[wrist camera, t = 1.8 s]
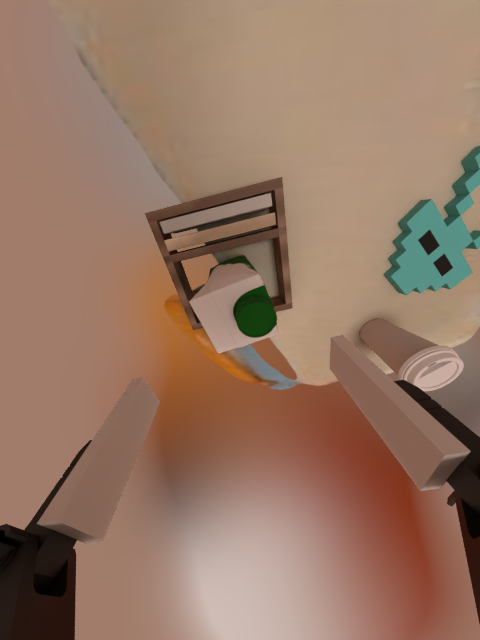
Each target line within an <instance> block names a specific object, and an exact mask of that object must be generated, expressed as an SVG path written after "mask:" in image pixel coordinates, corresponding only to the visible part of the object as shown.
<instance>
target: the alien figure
mask: <svg viewBox="0 0 480 640" xmlns="http://www.w3.org/2000/svg"><path fill="white" fill-rule="evenodd" d="M461 163H462V165H463V167H464V170H465V172H466V173H465V174H464V175H463V176H462V177H461V178H460V179H459V180H458V181H456V182H455V183H454V184H453V185H452V187H453V189H454V191H455V193H456V195H457V196H456V197H455V198H454V199H453V200H451V201H450V202H449V203H448V204H447V205H446V206H445V207H444V208H445V210H446V212H447V214H448V217H447V218H446V219H445V220H443V218H442V216H441V215H440V213H439V211H438V209H437V207H436V206H435V204H434V202H433V200H432V199H428V200H421V201H420V202H419V203H418V204H417V205H416V206H415V207H414V208H413V209H412V210H411V211H410V212H409V213H408V214H407V215H406V216H405V217H404V218H403V219H402V220H401V221H400V222H399V223H398V225H399V226H400V228H401V229H402V231H403V232H402V233H401V234H400V235H399V236H398V237H397V238H396V239H395V240H394V241H393V243H394V245H395V246H396V247H397V249H398V250H397V251H396V252H395V253H394V254H393V255H391V256H390V257H389V258H388V260H389V261H390V262H391V263H392V265H393V266H392V267H391V268H390V269H389V270H388V271H387V272H386V273H385V274H384V275H385V277H386V278H387V279H388V280H389V281H390V283H391V284H392V285H393V286H394V287H395V288H396V290H397V291H398V292H399V293H402V294H404V295H407V294H408V293H410V292H411V291H412V290H413V291H416V292H419V293H422V292H423V291H424V290H426V289H430V290H433V291H437V290H438V289H439V288H440V287H444V288H447V289H451V288H453V287H454V286H455V285H457V284H458V283H459V282H461V281H462V280H463V279H465V278H466V277H467V276H469V275H470V274H471V273H473V272H472V270H471V268H470V267H469V265H468V263H467V261H466V259H465V258H464V256H463V254H462V252H461V251H462V250H463V249H464V248H471V249H478V248H479V247H480V231H473V232H472V233H471V234H470V233H469V232H468V230H467V228H466V226H465V224H464V222H463V220H462V218H461V216H460V215H461V214H463V213H464V212H465V211H466V210H467V209H468V208H470V207H471V206H472V205H473V204H474V202H473V200H472V198H471V196H470V193H471V192H472V191H473V190H474V189H475V188H476V187H477V186H478V185H480V146H478V147H476V148H474V149H473V150H472V151H471V152H470V153H469V154H468V155H467V156H466V157H465V158H464V159H463V160H462V161H461Z"/></svg>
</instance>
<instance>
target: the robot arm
mask: <svg viewBox="0 0 480 640" xmlns="http://www.w3.org/2000/svg"><path fill="white" fill-rule="evenodd" d="M330 369H331V371H332V372H333V373H334V375H335V376H336V377H337V379H338V380H339V381H340V383H341V384H342V385H343V387H344V388H345V390H346V391H347V392H348V393H349V395H350V396H351V398H352V399H353V400H354V402H355V403H356V404H357V406H358V407H359V408H360V410H361V411H362V412H363V414H364V415H365V417H366V418H367V419H368V421H369V422H370V423H371V425H372V426H373V427H374V429H375V430H376V431H377V433H378V434H379V435H380V437H381V438H382V440H383V441H384V442H385V444H386V445H387V446H388V448H389V449H390V450H391V452H392V453H393V454H394V456H395V457H396V459H397V460H398V461H399V463H400V464H401V465H402V467H403V468H404V469H405V471H406V472H407V473H408V475H409V476H410V477H411V479H412V480H413V481H414V483H415V484H416V486H417V487H418V488H419V490H420V491H424V490H430V489H436V488H441V487H442V486H443V485H444V484H445V482H446V481H447V482H448V483H449V484H450V485H451V486H452V488H453V489H454V492H453V493H452V494H451V495H450V496H449V497H448V501H447V504H448V505H450V506H453V505H454V504H455V503H456V506H457V511H458V517H459V522H460V527H461V532H462V537H463V542H464V547H465V552H466V557H467V562H468V567H469V572H470V577H471V582H472V587H473V593H474V598H475V603H476V608H477V613H478V618H479V623H480V437H479V436H477V435H476V434H475V433H474V432H472V431H471V430H470V429H469V428H467V427H466V426H465V425H464V424H463V423H461V422H460V421H459V420H458V419H457V418H455V417H454V416H453V415H451V414H450V413H449V412H448V411H446V410H445V409H444V408H442V407H441V405H439V404H438V403H437V402H436V401H434V400H432V399H431V397H430V396H428V395H427V394H426V393H424V392H423V391H422V390H421V389H420V388H419V387H417V386H415V385H413V384H411V383H409V382H407V381H405V380H399V381H393V380H391V379H390V378H389V377H388V376H387V375H386V374H385V373H384V372H383V371H382V370H380V369H379V368H378V367H377V366H376V365H375V364H374V363H373V362H372V361H371V360H369V359H368V358H367V357H366V356H365V355H364V354H363V353H362V352H361V351H359V350H358V349H357V348H356V347H355V346H354V345H353V344H352V343H351V342H350V341H348V340H347V339H346V338H345V337H344V336H343V335H341V336H336V337H332V338H331V348H330ZM159 404H160V402H159V400H158V398H157V397H156V395H155V394H154V393H153V391H152V390H151V388H150V387H149V385H148V384H147V382H146V381H145V379H144V378H143V377H141V378H136V379H133V380H132V381H131V383H130V384H129V386H128V387H127V389H126V390H125V392H124V393H123V395H122V396H121V398H120V399H119V401H118V402H117V404H116V405H115V407H114V408H113V410H112V411H111V413H110V414H109V416H108V417H107V419H106V420H105V422H104V423H103V425H102V426H101V428H100V429H99V431H98V433H97V434H96V435H95V437H94V438H93V440H90V441H89V442H88V443H87V444H86V445H85V446H84V447H83V448H82V449H81V450H80V451H79V453H78V454H77V455H76V457H75V458H74V460H73V461H72V463H71V464H70V467H68V469H67V470H66V471H65V473H64V474H63V477H62V478H61V479H60V480H59V482H58V483H57V484H56V486H55V487H54V489H53V490H52V492H51V493H50V495H49V496H48V497H47V499H46V500H45V502H44V503H43V504H42V506H41V507H40V509H39V510H38V512H37V513H36V515H35V516H34V518H33V519H32V521H31V522H30V523H29V525H28V526H27V527H26V528H25V530H22V529H19V528H16V527H13V526H10V525H8V524H5V525H2V526H0V640H74V639H75V638H74V637H75V585H76V552H75V549H73V547H74V545H75V543H76V541H77V540H79V541H81V542H83V543H93V542H99V541H103V539H104V537H105V534H106V532H107V529H108V527H109V525H110V522H111V520H112V517H113V515H114V512H115V510H116V508H117V505H118V503H119V500H120V498H121V496H122V493H123V491H124V488H125V486H126V483H127V481H128V479H129V476H130V474H131V471H132V469H133V467H134V464H135V462H136V459H137V457H138V454H139V452H140V450H141V447H142V445H143V442H144V440H145V438H146V435H147V433H148V430H149V428H150V425H151V423H152V421H153V418H154V416H155V413H156V411H157V409H158V406H159Z"/></svg>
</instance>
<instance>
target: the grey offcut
mask: <svg viewBox="0 0 480 640" xmlns="http://www.w3.org/2000/svg"><path fill="white" fill-rule="evenodd" d="M271 206H272V198H271V193H269V194H265V195H261V196H257V197H253V198H249V199H246V200H242V201H238V202H234V203H230V204H226V205H223V206H219V207H215V208H211V209H207V210H203V211H200V212H196V213H192V214H188V215H184V216H181V217H177V218H173V219H169V220H165V221H161V222H160V225H161V227H162V230H163V232H164V234H167V233H179V232H183V231H187V230H191V229H195V228H198V227H202V226H206V225H210V224H214V223H218V222H222V221H226V220H230V219H233V218H237V217H241V216H245V215H249V214H253V213H257V212H261V211H264V210H266V209H268V208H269V207H271Z"/></svg>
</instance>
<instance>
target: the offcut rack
mask: <svg viewBox="0 0 480 640" xmlns="http://www.w3.org/2000/svg"><path fill="white" fill-rule="evenodd" d="M269 193H271V198H272V206H271V207H270V213H274V212H275V219H276V225H273V226H272V229H269V230H265V231H261V232H257V233H253V234H249V235H245V236H241V237H237V238H233V239H229V240H225V241H221V242H217V243H213V244H209V245H205V246H201V247H197V248H193V249H189V250H185V251H181V252H177V250H173V251H169V252H168V249H167V246H166V244H165V241H164V240H168V239H172V236H171V233H167V234H164V232H163V230H162V227H161V225H160V222H161V221H165V220H169V219H173V218H177V217H181V216H184V215H188V214H192V213H196V212H200V211H203V210H207V209H211V208H215V207H219V206H223V205H226V204H230V203H234V202H238V201H242V200H246V199H249V198H253V197H257V196H261V195H265V194H269ZM145 215H146V217H147V220H148V222H149V225H150V227H151V229H152V232H153V234H154V237H155V239H156V242H157V244H158V246H159V249H160V251H161V253H162V256H163V258H164V261H165V263H166V265H167V268H168V270H169V273H170V275H171V277H172V280H173V282H174V285H175V287H176V290H177V292H178V295H179V297H180V299H181V302H182V304H183V307H184V309H185V311H186V314H187V316H188V319H189V321H190V323H191V326H192V328H193V330H195V329H200V328H203V326H202V324H201V322H200V320H199V319H198V317H197V315H196V313H195V312H194V310H193V308H192V306H191V305H190V303H189V301H190V300H191V299H192V298H193V297H194V295H193V293H192V290H191V287H190V285H189V282H188V279H187V277H186V274H185V271H184V268H183V266H182V263H181V261H182V260H186V259H190V258H194V257H198V256H202V255H206V254H210V253H215V252H219V251H223V250H227V249H231V248H235V247H239V246H243V245H247V244H251V243H255V242H259V241H263V240H267V239H272V238H273V240H274V249H275V258H276V267H277V275H278V284H279V293H280V296H278V297H273V298H271V300H272V303H273V306H274V310H275V312H277V311H281V310H286V309H290V308H292V295H291V283H290V270H289V258H288V245H287V233H286V220H285V208H284V195H283V183H282V177H281V178H277V179H273V180H269V181H265V182H262V183H258V184H254V185H250V186H247V187H243V188H239V189H235V190H232V191H228V192H224V193H220V194H216V195H213V196H209V197H205V198H201V199H198V200H194V201H190V202H186V203H183V204H179V205H175V206H171V207H168V208H164V209H160V210H157V211H152V212H149V213H145Z"/></svg>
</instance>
